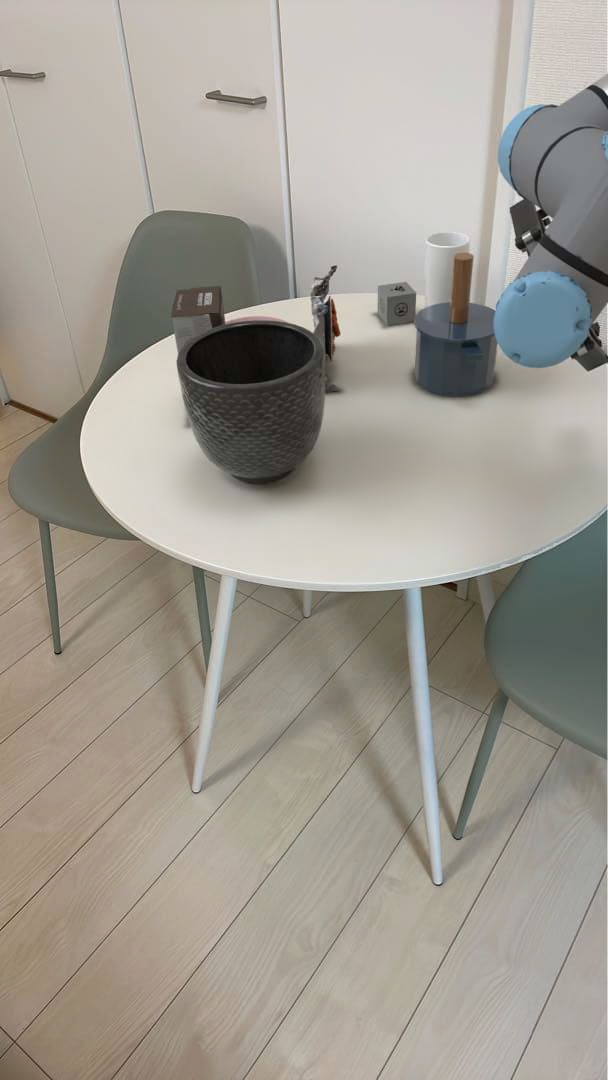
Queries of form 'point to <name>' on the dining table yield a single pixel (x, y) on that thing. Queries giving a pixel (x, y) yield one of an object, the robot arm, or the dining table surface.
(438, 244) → the drinking glass
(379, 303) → the dice cube
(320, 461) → the dining table surface
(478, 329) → the lid
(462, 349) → the pot
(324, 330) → the meal
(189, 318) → the coffee box
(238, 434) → the planter
